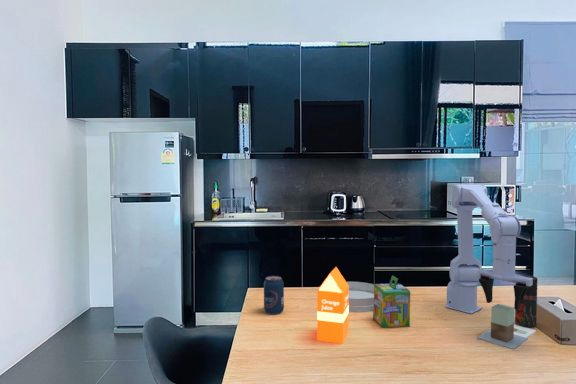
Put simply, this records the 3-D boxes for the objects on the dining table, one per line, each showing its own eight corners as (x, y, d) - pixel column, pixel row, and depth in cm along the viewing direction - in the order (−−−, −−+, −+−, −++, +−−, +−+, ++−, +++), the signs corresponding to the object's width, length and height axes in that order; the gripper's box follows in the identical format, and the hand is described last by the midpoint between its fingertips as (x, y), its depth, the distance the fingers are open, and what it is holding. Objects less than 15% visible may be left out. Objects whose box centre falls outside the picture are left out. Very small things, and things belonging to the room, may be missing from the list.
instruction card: (499, 332, 123) (499, 331, 123) (511, 324, 129) (511, 323, 129) (525, 339, 118) (525, 338, 118) (536, 330, 123) (536, 330, 123)
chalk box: (372, 317, 135) (372, 274, 135) (399, 316, 137) (399, 272, 136) (382, 328, 126) (382, 281, 125) (410, 327, 127) (411, 280, 127)
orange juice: (349, 332, 124) (349, 267, 123) (343, 343, 115) (343, 274, 114) (324, 329, 126) (323, 265, 125) (316, 340, 118) (316, 272, 117)
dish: (393, 299, 155) (393, 286, 155) (372, 317, 137) (372, 302, 136) (340, 290, 167) (340, 278, 167) (314, 306, 148) (314, 292, 148)
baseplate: (477, 338, 119) (477, 337, 118) (491, 329, 125) (491, 328, 125) (514, 349, 111) (514, 348, 111) (527, 339, 117) (527, 338, 117)
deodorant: (539, 328, 125) (540, 280, 125) (519, 327, 126) (520, 279, 126) (531, 321, 131) (532, 275, 131) (511, 320, 132) (512, 274, 132)
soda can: (260, 313, 140) (260, 279, 139) (269, 307, 146) (268, 274, 146) (279, 316, 137) (278, 281, 137) (286, 309, 144) (286, 276, 143)
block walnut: (490, 337, 118) (490, 322, 118) (497, 333, 121) (497, 318, 121) (507, 342, 115) (507, 326, 114) (513, 338, 118) (513, 322, 117)
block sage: (491, 322, 118) (491, 306, 118) (497, 318, 121) (498, 303, 121) (507, 326, 115) (508, 310, 114) (514, 322, 117) (514, 307, 117)
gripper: (472, 256, 120) (471, 302, 120) (526, 265, 109) (525, 315, 109) (483, 253, 124) (482, 297, 125) (536, 261, 113) (534, 309, 114)
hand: (502, 305), depth 118 cm, fingers open, 7 cm apart
